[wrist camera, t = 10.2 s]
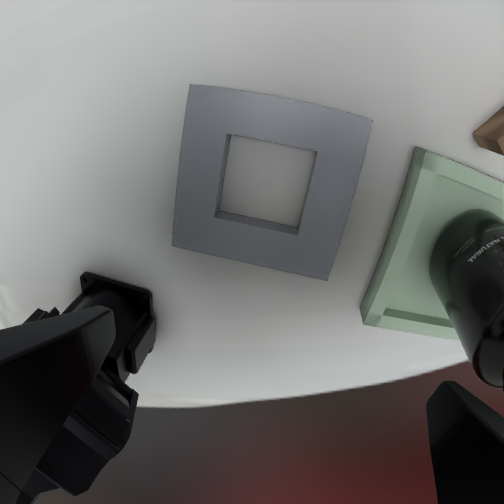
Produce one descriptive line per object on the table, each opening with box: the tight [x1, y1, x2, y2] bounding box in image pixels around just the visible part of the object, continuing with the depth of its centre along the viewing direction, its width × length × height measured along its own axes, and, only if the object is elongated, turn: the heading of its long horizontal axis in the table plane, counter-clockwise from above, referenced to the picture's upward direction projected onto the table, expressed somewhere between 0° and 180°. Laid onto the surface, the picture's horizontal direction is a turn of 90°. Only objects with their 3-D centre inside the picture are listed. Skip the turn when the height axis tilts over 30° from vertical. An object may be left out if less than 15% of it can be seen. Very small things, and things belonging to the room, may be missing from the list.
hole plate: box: [172, 84, 373, 281], centre depth 18 cm, size 10×10×1 cm
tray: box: [360, 147, 504, 340], centre depth 18 cm, size 12×12×2 cm
